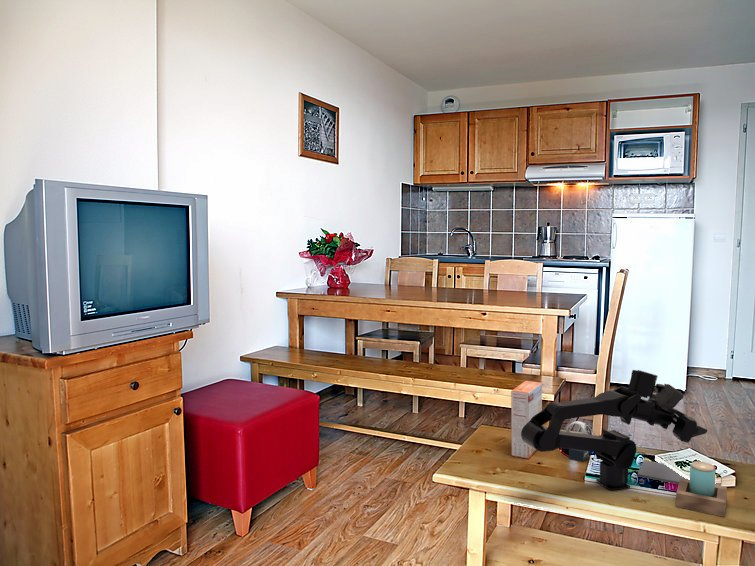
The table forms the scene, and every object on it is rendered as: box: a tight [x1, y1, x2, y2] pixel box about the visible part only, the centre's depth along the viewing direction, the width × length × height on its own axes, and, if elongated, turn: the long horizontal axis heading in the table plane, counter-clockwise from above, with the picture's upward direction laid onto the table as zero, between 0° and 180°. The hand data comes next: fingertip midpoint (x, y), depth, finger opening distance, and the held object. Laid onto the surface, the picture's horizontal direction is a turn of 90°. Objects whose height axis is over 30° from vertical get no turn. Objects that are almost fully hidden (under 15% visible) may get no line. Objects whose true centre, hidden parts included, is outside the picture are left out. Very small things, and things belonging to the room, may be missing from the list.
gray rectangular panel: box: [637, 459, 722, 486], centre depth 166 cm, size 20×12×1 cm, turn 58°
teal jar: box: [689, 460, 717, 498], centre depth 150 cm, size 6×6×10 cm
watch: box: [565, 420, 594, 463], centre depth 181 cm, size 6×8×11 cm
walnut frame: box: [675, 478, 728, 518], centre depth 150 cm, size 11×11×4 cm
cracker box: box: [510, 380, 543, 460], centre depth 187 cm, size 14×6×21 cm, turn 148°
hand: (696, 424), depth 165 cm, fingers open, 9 cm apart
